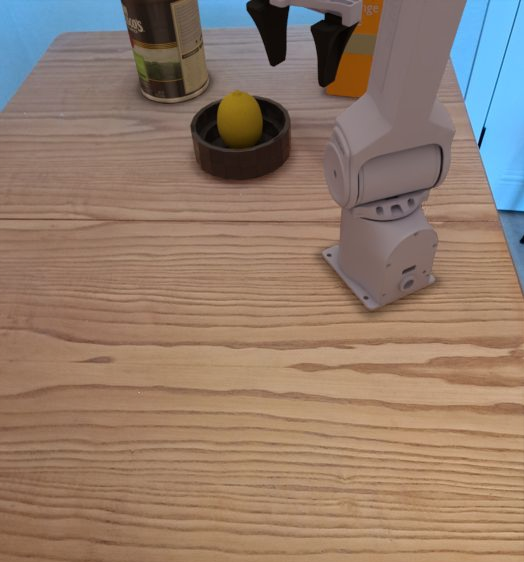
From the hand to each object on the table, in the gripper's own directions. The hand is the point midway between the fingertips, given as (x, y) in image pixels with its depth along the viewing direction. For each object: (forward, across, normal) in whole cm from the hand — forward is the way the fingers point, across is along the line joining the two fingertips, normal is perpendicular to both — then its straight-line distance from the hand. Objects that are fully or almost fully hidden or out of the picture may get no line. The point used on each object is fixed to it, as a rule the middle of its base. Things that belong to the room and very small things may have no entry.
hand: (301, 72), depth 67 cm
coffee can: (+10, -25, 0) cm, 27 cm away
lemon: (+9, -4, -6) cm, 12 cm away
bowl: (+9, -4, -6) cm, 12 cm away
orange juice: (+10, -4, +17) cm, 20 cm away
